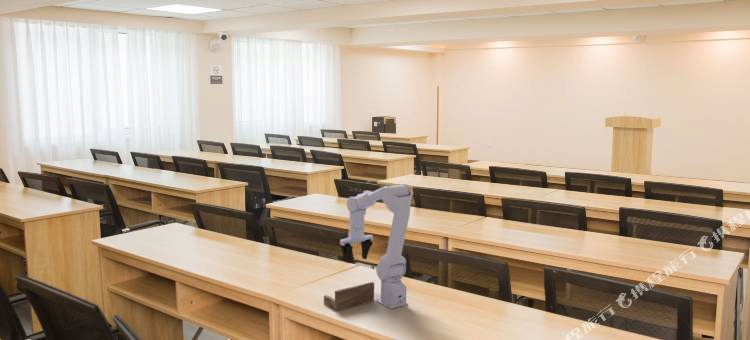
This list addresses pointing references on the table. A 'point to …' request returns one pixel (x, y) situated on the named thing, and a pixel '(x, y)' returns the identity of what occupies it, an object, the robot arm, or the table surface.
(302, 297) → the table surface
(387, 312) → the table surface
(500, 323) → the table surface
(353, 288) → the book rack
